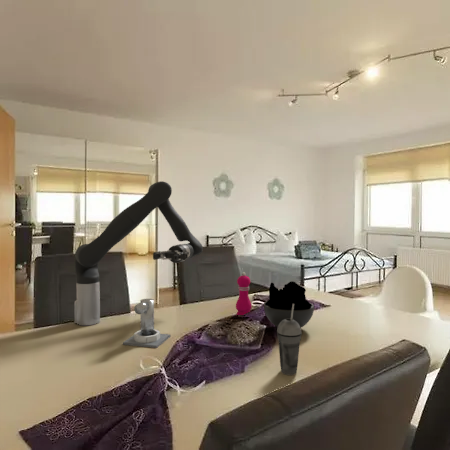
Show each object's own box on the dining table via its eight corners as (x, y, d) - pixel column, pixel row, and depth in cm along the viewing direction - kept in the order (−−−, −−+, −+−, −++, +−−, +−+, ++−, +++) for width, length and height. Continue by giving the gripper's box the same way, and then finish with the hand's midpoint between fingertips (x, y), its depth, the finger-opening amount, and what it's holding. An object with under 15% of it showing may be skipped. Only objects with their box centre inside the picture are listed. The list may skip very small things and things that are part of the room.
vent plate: (122, 344, 129) (122, 336, 129) (138, 333, 141) (138, 326, 141) (156, 347, 126) (156, 339, 126) (170, 336, 138) (170, 329, 138)
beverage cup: (273, 366, 111) (274, 301, 110) (297, 366, 111) (298, 300, 111) (279, 377, 103) (280, 307, 103) (304, 376, 104) (305, 307, 103)
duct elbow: (132, 343, 128) (132, 303, 128) (144, 335, 137) (144, 297, 136) (145, 344, 127) (145, 304, 126) (156, 336, 135) (156, 298, 135)
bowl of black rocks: (318, 325, 152) (318, 280, 151) (307, 340, 134) (308, 289, 133) (272, 319, 160) (272, 276, 160) (256, 333, 142) (256, 284, 141)
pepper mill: (250, 318, 161) (250, 273, 161) (234, 317, 163) (234, 273, 162) (252, 314, 168) (252, 271, 168) (237, 313, 170) (237, 270, 169)
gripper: (164, 244, 162) (147, 247, 146) (194, 245, 159) (181, 248, 143) (164, 261, 162) (147, 266, 147) (194, 262, 159) (181, 267, 143)
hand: (164, 257), depth 145 cm, fingers open, 8 cm apart
